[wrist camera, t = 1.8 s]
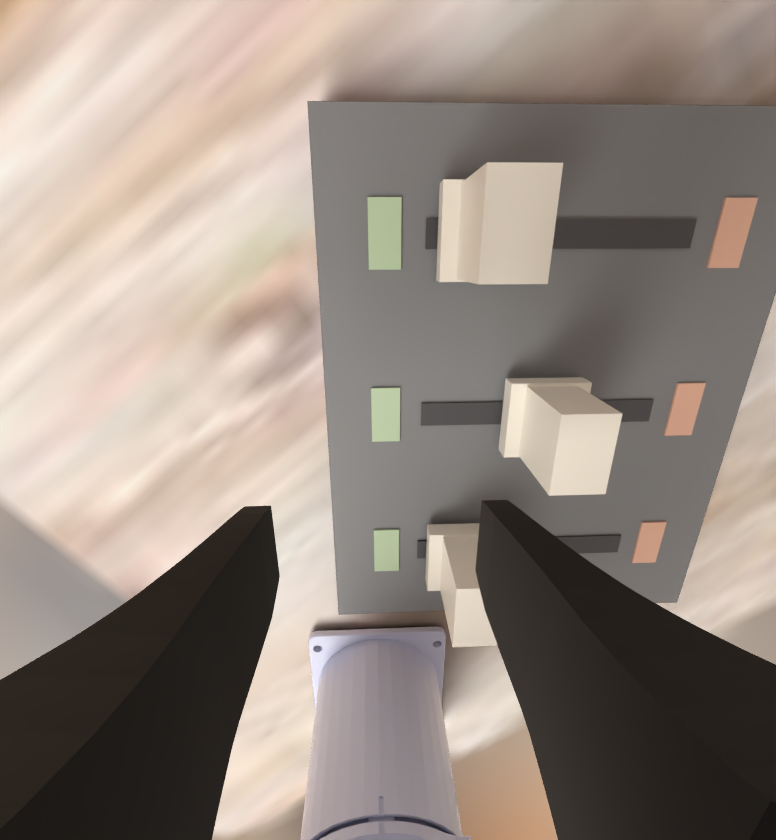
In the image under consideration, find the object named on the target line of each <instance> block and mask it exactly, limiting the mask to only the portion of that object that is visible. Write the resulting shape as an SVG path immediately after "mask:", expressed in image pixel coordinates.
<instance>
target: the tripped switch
mask: <svg viewBox="0 0 776 840" xmlns="http://www.w3.org/2000/svg"><path fill="white" fill-rule="evenodd" d="M591 386H592V382H590V381H588V380H587V379H585V378H583V377H565V378H506V380H505V390H504V399H503V409H502V419H501V429H500V439H499V451H500V452H501V454H502V455H503V457H504V458H507V457H520V458H521V459H522V461H523V462H524V463H525V465H526V466H527V467H528V469H529V470H530V471H531V473H532V474H533V475H534V477H535V478H536V479H537V480H538V482H539V483H540V484H541V486H542V487H543V488H544V490H545V491H546V492H547V494H548V495H549V496H556V495H595V494H606V489H607V484H608V480H609V475H610V470H611V466H612V461H613V456H614V452H615V447H616V442H617V437H618V433H619V428H620V423H621V419H622V413H621V412H619V411H618V410H616V409H614V408H613V407H611V406H610V405H608V404H606V403H605V402H603V401H601V400H600V399H598V398H597V397H595V396H593V395H592V394H590V392H591Z"/></svg>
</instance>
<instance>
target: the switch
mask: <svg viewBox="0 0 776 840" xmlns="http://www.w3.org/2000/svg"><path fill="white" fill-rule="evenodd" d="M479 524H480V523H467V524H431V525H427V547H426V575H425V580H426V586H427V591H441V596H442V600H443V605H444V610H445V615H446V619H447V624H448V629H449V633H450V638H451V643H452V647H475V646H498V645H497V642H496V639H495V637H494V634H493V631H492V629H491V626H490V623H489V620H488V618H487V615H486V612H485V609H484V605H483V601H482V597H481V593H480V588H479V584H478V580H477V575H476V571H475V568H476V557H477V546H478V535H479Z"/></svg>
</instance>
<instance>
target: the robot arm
mask: <svg viewBox="0 0 776 840" xmlns="http://www.w3.org/2000/svg"><path fill="white" fill-rule="evenodd" d="M475 571H476V575H477V580H478V584H479V588H480V593H481V597H482V601H483V605H484V609H485V612H486V615H487V618H488V620H489V623H490V626H491V629H492V631H493V634H494V637H495V639H496V642H497V645H498V648H499V650H500V653H501V656H502V658H503V661H504V664H505V666H506V669H507V672H508V674H509V677H510V680H511V682H512V685H513V688H514V690H515V693H516V696H517V698H518V701H519V704H520V706H521V709H522V712H523V715H524V718H525V721H526V724H527V727H528V730H529V733H530V736H531V740H532V744H533V747H534V751H535V755H536V758H537V762H538V766H539V769H540V773H541V776H542V780H543V784H544V787H545V791H546V795H547V799H548V802H549V806H550V810H551V814H552V818H553V822H554V825H555V829H556V833H557V836H558V840H776V665H775V664H773V663H771V662H769V661H766V660H764V659H762V658H760V657H758V656H756V655H753V654H751V653H749V652H747V651H745V650H743V649H741V648H739V647H737V646H735V645H733V644H731V643H729V642H727V641H725V640H723V639H721V638H719V637H717V636H715V635H713V634H711V633H709V632H707V631H705V630H703V629H701V628H699V627H697V626H695V625H693V624H691V623H690V622H688V621H686V620H684V619H682V618H680V617H678V616H676V615H675V614H673V613H671V612H669V611H668V610H666V609H664V608H662V607H661V606H659V605H657V604H656V603H654V602H652V601H650V600H649V599H647V598H645V597H644V596H642V595H640V594H638V593H637V592H635V591H633V590H632V589H630V588H629V587H627V586H625V585H624V584H622V583H621V582H619V581H618V580H616V579H615V578H613V577H612V576H610V575H609V574H607V573H606V572H604V571H603V570H601V569H600V568H598V567H597V566H595V565H594V564H592V563H591V562H589V561H588V560H587V559H585V558H584V557H582V556H581V555H579V554H578V553H577V552H575V551H574V550H573V549H571V548H570V547H568V546H567V545H566V544H564V543H563V542H562V541H560V540H559V539H558V538H556V537H555V536H554V535H553V534H551V533H550V532H549V531H547V530H546V529H545V528H544V527H542V526H541V525H540V524H538V523H537V522H536V521H535V520H533V519H532V518H531V517H529V516H528V515H527V514H526V513H524V512H523V511H522V510H520V509H519V508H518V507H517V506H515V505H514V504H512V503H511V502H510V501H508V500H482V502H481V513H480V524H479V535H478V546H477V557H476V568H475ZM278 582H279V568H278V560H277V552H276V544H275V536H274V527H273V519H272V511H271V506H249V507H243V508H242V509H241V510H240V511H238V512H237V513H236V514H235V515H234V516H232V517H231V518H230V519H229V520H228V521H227V522H225V523H224V524H223V525H222V526H221V527H220V528H219V529H217V530H216V531H215V532H214V533H213V534H212V535H211V536H209V537H208V538H207V539H206V540H205V541H204V542H202V543H201V544H200V545H199V546H198V547H196V548H195V549H194V550H193V551H192V552H191V553H189V554H188V555H187V556H186V557H185V558H183V559H182V560H181V561H180V562H178V563H177V564H176V565H175V566H173V567H172V568H171V569H169V570H168V571H167V572H165V573H164V574H163V575H162V576H160V577H159V578H158V579H156V580H155V581H154V582H153V583H151V584H150V585H149V586H147V587H146V588H145V589H144V590H142V591H141V592H140V593H138V594H137V595H135V596H134V597H133V598H131V599H130V600H129V601H127V602H126V603H124V604H123V605H121V606H120V607H119V608H117V609H116V610H114V611H113V612H111V613H110V614H109V615H107V616H105V617H104V618H102V619H101V620H99V621H98V622H96V623H95V624H93V625H92V626H90V627H88V628H87V629H85V630H84V631H82V632H81V633H79V634H78V635H76V636H75V637H73V638H71V639H70V640H68V641H66V642H64V643H63V644H61V645H59V646H58V647H56V648H54V649H53V650H51V651H49V652H47V653H46V654H44V655H42V656H41V657H39V658H37V659H35V660H34V661H32V662H30V663H29V664H27V665H25V666H24V667H22V668H20V669H18V670H17V671H15V672H13V673H12V674H10V675H8V676H7V677H5V678H3V679H1V680H0V840H212V835H213V831H214V826H215V821H216V816H217V812H218V807H219V802H220V798H221V794H222V789H223V785H224V780H225V776H226V771H227V767H228V762H229V758H230V754H231V749H232V745H233V742H234V738H235V734H236V731H237V727H238V724H239V720H240V717H241V714H242V711H243V708H244V705H245V701H246V698H247V695H248V692H249V689H250V686H251V683H252V679H253V676H254V673H255V670H256V667H257V664H258V661H259V657H260V654H261V651H262V648H263V645H264V641H265V638H266V635H267V632H268V629H269V625H270V622H271V619H272V614H273V609H274V604H275V599H276V593H277V588H278ZM435 641H437V642H435ZM308 643H309V653H310V663H311V673H312V683H313V694H314V704H315V720H314V729H313V737H312V746H311V754H310V763H309V771H308V780H307V788H306V797H305V805H304V814H303V822H302V831H301V839H300V840H472V838H471V837H470V836H463V835H462V829H461V823H460V817H459V810H458V805H457V798H456V792H455V786H454V779H453V773H452V768H451V761H450V754H449V748H448V742H447V736H446V730H445V724H444V717H443V711H442V691H443V675H444V659H445V643H446V635H445V630H444V629H443V628H441V627H437V626H435V627H409V628H382V629H355V630H328V631H314V632H312V633H311V634H310V636H309V642H308ZM317 645H318V646H317Z"/></svg>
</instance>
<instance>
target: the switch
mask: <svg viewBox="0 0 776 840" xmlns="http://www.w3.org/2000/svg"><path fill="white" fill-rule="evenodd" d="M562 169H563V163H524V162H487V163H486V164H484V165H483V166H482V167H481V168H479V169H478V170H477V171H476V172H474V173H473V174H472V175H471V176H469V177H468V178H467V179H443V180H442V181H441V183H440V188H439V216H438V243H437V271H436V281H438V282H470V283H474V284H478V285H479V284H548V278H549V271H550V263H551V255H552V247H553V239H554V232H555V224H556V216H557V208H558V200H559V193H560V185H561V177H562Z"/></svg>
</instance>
